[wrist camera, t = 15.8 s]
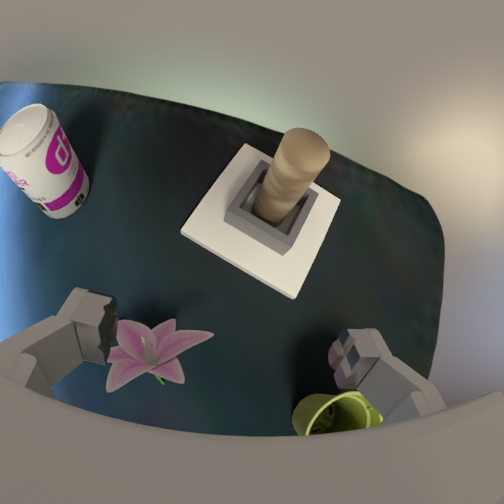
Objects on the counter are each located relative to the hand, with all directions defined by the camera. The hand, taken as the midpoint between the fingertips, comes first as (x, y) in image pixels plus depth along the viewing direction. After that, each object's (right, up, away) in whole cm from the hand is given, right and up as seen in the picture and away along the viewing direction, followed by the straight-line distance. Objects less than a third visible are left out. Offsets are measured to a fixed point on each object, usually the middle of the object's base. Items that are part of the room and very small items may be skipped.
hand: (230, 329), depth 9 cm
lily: (-10, -9, +21) cm, 25 cm away
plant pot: (+9, -18, +22) cm, 29 cm away
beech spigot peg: (+3, +8, +27) cm, 28 cm away
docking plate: (+3, +7, +28) cm, 29 cm away
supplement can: (-25, +11, +23) cm, 36 cm away
